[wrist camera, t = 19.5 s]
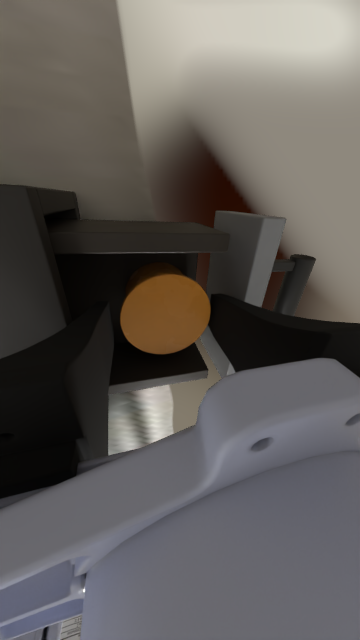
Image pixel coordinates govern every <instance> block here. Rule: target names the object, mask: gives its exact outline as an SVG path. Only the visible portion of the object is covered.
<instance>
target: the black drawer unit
mask: <svg viewBox="0 0 360 640" xmlns="http://www.w3.org/2000/svg"><path fill="white" fill-rule="evenodd" d="M44 219H76V220H80V215H79V210H78V205H77V199H76V194H75V192H70V191H62V190H54V189H46V188H38V187H31V186H21V185H4V184H0V359H1V358H4V357H6V356H9V355H11V354H14V353H17V352H19V351H21V350H24V349H26V348H28V347H30V346H32V345H34V344H36V343H38V342H40V341H42V340H44V339H46V338H48V337H50V336H52V335H54V334H55V333H57V332H59V331H60V330H62V329H63V328H65V327H66V326H68V325H69V324H70V323H72V322H73V321H72V317H71V314H70V310H69V306H68V303H67V299H66V295H65V292H64V288H63V285H62V281H61V277H60V274H59V270H58V267H57V263H56V259H55V256H54V252H53V249H52V245H51V241H50V238H49V234H48V231H47V227H46V223H45V220H44Z"/></svg>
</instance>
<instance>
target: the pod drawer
mask: <svg viewBox="0 0 360 640" xmlns="http://www.w3.org/2000/svg"><path fill="white" fill-rule="evenodd" d="M44 220H45V223H46V227H47V231H48V234H49V238H50V241H51V245H52V249H53V252H54V256H55V259H56V263H57V267H58V270H59V274H60V277H61V281H62V285H63V288H64V292H65V295H66V299H67V303H68V306H69V310H70V314H71V317H72V321H74V320H76V319H77V318H78V317H80V316H81V315H82V314H83V313H84V312H85V311H86V310H88V309H89V308H90V307H91V306H92V305H93V304H94V303H95V302H97V301H108V300H109V303H110V310H111V316H112V322H113V329H114V351H113V358H112V365H111V372H110V379H109V395H110V394H116V393H122V392H128V391H134V390H140V389H146V388H152V387H158V386H163V385H169V384H175V383H181V382H187V381H193V380H199V379H205V378H207V375H208V368H207V366H206V364H205V362H204V360H203V358H202V356H201V354H200V352H199V350H198V348H197V346H196V344H195V342H194V343H192V344H191V345H190V346H188V347H186V348H184V349H182V350H180V351H177V352H174V353H169V354H152V353H148V352H145V351H142V350H140V349H138V348H136V347H135V346H134V345H132V344H131V343H130V342H129V341H128V340H127V338H126V337H125V335H124V333H123V331H122V328H121V324H120V311H121V306H122V303H123V301H124V299H125V289H126V285H127V282H128V280H129V278H130V277H131V275H132V274H133V273H134V272H135V271H136V270H137V269H139V268H140V267H142V266H144V265H146V264H150V263H155V262H163V263H168V264H171V265H173V266H175V267H177V268H178V269H179V270H180V271H181V272H182V273H183V274H184V275H185V276H187V277H190V278H191V279H193V280H195V281H196V269H197V257H198V253H209V252H210V253H211V254H210V255H211V256H210V263H209V272H208V279H207V287H206V294H207V296H208V298H209V302H210V298H211V294H219V293H221V294H225V295H228V296H231V297H234V298H236V299H239V300H242V301H244V302H247V303H249V304H252V305H255V306H258V307H261V306H262V302H263V299H264V296H265V292H266V288H267V285H268V281H269V278H270V275H271V272H277V271H278V272H279V271H286V272H285V275H284V278H283V281H282V285H281V287H280V290H279V293H278V296H277V300H276V302H275V306H274V309H273V311H274V312H277V313H281V314H285V315H290V316H294V314H295V311H296V309H297V306H298V303H299V301H300V299H301V296H302V294H303V291H304V288H305V286H306V283H307V280H308V278H309V276H310V273H311V271H312V268H313V266H314V263H315V261H316V259H315V258H314V257H311V256H307V255H299V254H294V255H291V257H290V260H289V259H288V260H287V259H286V260H275V257H276V254H277V250H278V247H279V243H280V240H281V236H282V233H283V229H284V226H285V223H286V219H285V218H282V217H274V216H266V215H258V214H250V213H241V212H233V211H216V214H215V222H214V228H211V227H207V226H204V225H202V224H199V223H192V222H153V221H114V220H76V219H44ZM200 340H201V342H202V344H203V346H204V347H205V349H206V351H207V353H208V354H209V356H210V358H211V360H212V362H213V363H214V365H215V367H216V369H217V370H218V372H219V374H220V376H221V378H223V377H225V376H228V375H231V374H234V373H236V372H235V370H234V368H233V367H232V365H231V363H230V361H229V360H228V358H227V357H226V355H225V354H224V352H223V351H222V349H221V348H220V346H219V345H218V343H217V341H216V340H215V338H214V337H213V335H212V333H211V331H210V328H209V326H208V324H207V327H206V329H205V330H204V332H203V333H202V335H201V337H200Z"/></svg>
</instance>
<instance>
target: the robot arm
mask: <svg viewBox="0 0 360 640" xmlns="http://www.w3.org/2000/svg"><path fill="white" fill-rule="evenodd" d="M208 326H209V328H210V331H211V333H212V335H213V337H214V338H215V340H216V341H217V343H218V345H219V346H220V348H221V349H222V351H223V352H224V354H225V355H226V357H227V358H228V360H229V361H230V363H231V365H232V367H233V368H234V370H235V372H236V373H234V374H231V375H228V376H225V377H223V378H222V379H220V380H219V381H218V382H217V383H215V384H214V385H213V386H212V387H211V388H209V389H208V391H207V392H206V394H205V396H204V398H203V400H202V402H201V404H200V406H199V410H198V416H197V422H196V425H194V426H191V427H188V428H186V429H184V430H182V431H179V432H177V433H175V434H172V435H170V436H168V437H165V438H163V439H161V440H158V441H156V442H154V443H151V444H149V445H147V446H145V447H142V448H139V449H135V450H130V451H126V452H122V453H118V454H113V455H109V456H108V398H109V379H110V372H111V365H112V358H113V351H114V329H113V322H112V316H111V310H110V303H109V300H108V301H97V302H95V303H94V304H93V305H92V306H91V307H90V308H89V309H88V310H86V311H85V312H84V313H83V314H82V315H81V316H80V317H78V318H77V319H76V320H74V321H73V322H72V323H70V324H69V325H68V326H66V327H65V328H63V329H62V330H60V331H59V332H57V333H55V334H54V335H52V336H50V337H48V338H46V339H44V340H42V341H40V342H38V343H36V344H34V345H32V346H30V347H28V348H26V349H24V350H21V351H19V352H17V353H14V354H11V355H9V356H6V357H4V358H1V359H0V640H60V635H61V629H62V623H63V621H64V620H67V619H70V618H73V617H76V616H79V615H82V624H81V634H80V640H360V324H359V323H345V322H330V321H321V320H313V319H306V318H300V317H295V316H290V315H285V314H281V313H277V312H274V311H270V310H267V309H264V308H261V307H258V306H255V305H252V304H249V303H247V302H244V301H242V300H239V299H236V298H234V297H231V296H228V295H225V294H221V293H219V294H211V298H210V319H209V322H208Z"/></svg>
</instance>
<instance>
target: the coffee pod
mask: <svg viewBox="0 0 360 640" xmlns="http://www.w3.org/2000/svg"><path fill="white" fill-rule="evenodd" d="M209 319H210V302H209V298H208V296H207V294H206V292H205V291H204V289H203V288H202V287H201V286H200V285H199V284H198V283H197V282H196V281H195V280H193V279H191V278H190V277H187V276H185V275H184V274H183V273H182V272H181V271H180V270H179V269H178V268H177V267H175V266H173V265H171V264H168V263H163V262H155V263H150V264H146V265H144V266H142V267H140V268H139V269H137V270H136V271H135V272H134V273H133V274H132V275H131V277H130V278H129V280H128V282H127V285H126V289H125V299H124V301H123V303H122V306H121V311H120V324H121V328H122V331H123V333H124V335H125V337H126V338H127V340H128V341H129V342H130V343H131V344H132V345H134V346H135V347H136V348H138V349H140V350H142V351H145V352H148V353H152V354H169V353H174V352H177V351H180V350H182V349H184V348H186V347H188V346H190V345H191V344H192V343H194V342H195V341H196V340H197V339H198V338H199V337H200V336H201V335H202V333H203V332H204V330H205V329H206V327H207V324H208V322H209Z"/></svg>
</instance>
